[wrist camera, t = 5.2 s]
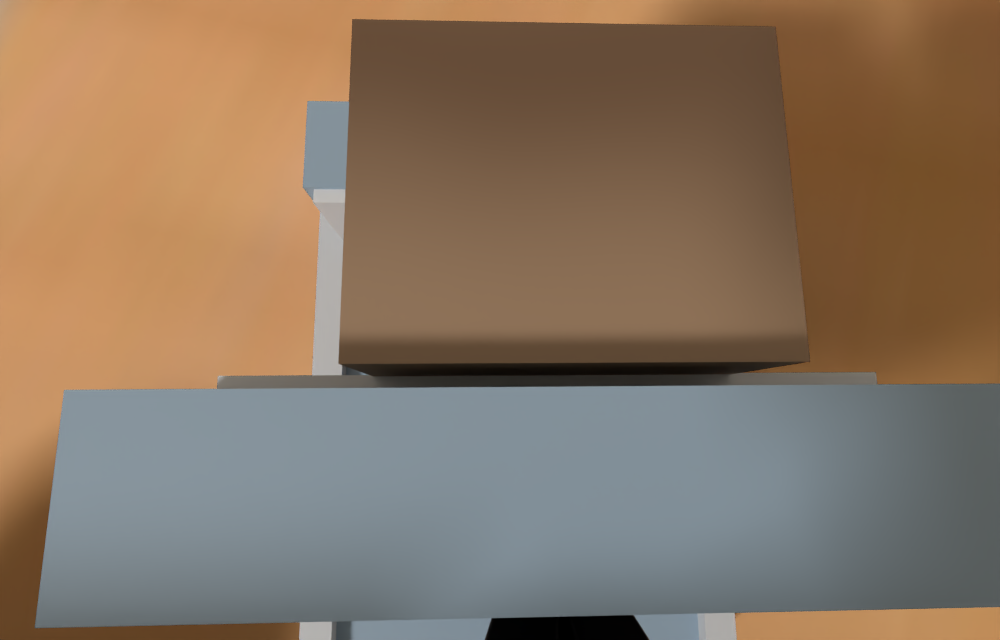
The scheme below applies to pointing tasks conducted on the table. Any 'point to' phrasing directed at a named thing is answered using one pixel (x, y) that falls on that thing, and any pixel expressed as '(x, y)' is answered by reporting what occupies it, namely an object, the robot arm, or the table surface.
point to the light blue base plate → (668, 634)
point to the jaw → (520, 498)
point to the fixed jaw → (327, 159)
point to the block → (567, 201)
